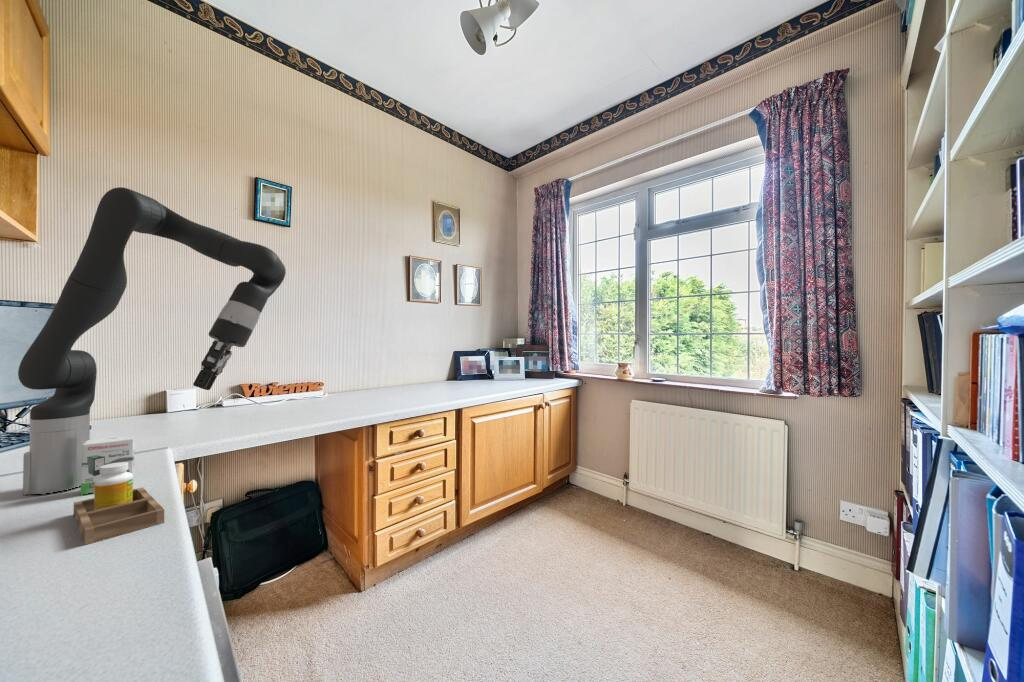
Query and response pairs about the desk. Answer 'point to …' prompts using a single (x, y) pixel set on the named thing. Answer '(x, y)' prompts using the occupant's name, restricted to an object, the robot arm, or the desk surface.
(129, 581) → the desk surface
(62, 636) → the desk surface
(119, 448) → the ink box
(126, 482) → the supplement bottle
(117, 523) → the organizer
